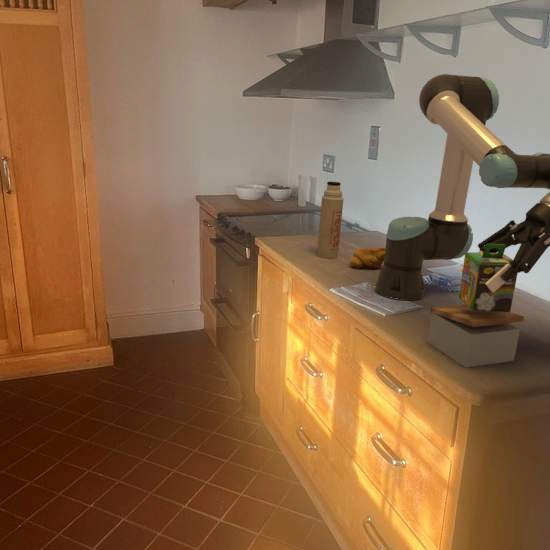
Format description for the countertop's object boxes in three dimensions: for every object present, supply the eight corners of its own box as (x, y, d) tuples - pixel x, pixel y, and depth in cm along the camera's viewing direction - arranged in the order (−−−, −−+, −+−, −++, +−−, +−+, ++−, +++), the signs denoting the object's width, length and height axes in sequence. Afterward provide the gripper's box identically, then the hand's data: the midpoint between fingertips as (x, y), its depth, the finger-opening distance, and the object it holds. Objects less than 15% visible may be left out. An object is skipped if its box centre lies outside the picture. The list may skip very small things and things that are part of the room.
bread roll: (353, 271, 193) (356, 249, 190) (343, 263, 202) (345, 242, 199) (387, 270, 196) (390, 248, 194) (376, 263, 205) (378, 242, 202)
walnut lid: (430, 311, 134) (430, 306, 134) (477, 307, 139) (477, 302, 139) (473, 326, 120) (473, 321, 120) (523, 321, 126) (523, 316, 125)
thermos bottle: (341, 258, 208) (349, 183, 200) (323, 259, 205) (330, 183, 197) (331, 252, 215) (338, 180, 207) (313, 253, 212) (319, 180, 204)
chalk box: (494, 299, 132) (505, 239, 128) (511, 313, 123) (524, 248, 119) (456, 297, 131) (466, 237, 127) (471, 311, 123) (482, 246, 118)
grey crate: (427, 342, 136) (432, 312, 134) (472, 337, 141) (478, 307, 139) (465, 367, 124) (471, 334, 121) (513, 360, 129) (520, 329, 126)
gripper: (595, 236, 114) (514, 309, 116) (527, 215, 135) (459, 276, 137) (579, 211, 112) (496, 285, 113) (512, 193, 133) (442, 256, 134)
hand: (475, 280), depth 125 cm, fingers closed on chalk box, 10 cm apart
